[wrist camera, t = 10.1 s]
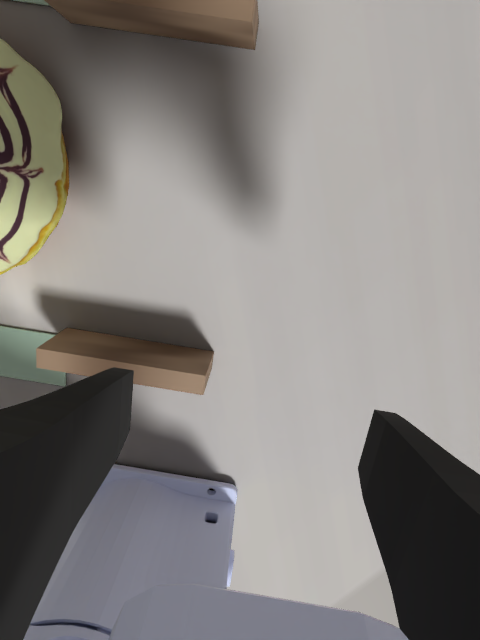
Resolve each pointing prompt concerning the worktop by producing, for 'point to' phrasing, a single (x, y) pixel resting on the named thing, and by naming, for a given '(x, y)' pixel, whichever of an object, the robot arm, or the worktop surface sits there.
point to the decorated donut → (28, 160)
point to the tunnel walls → (122, 352)
